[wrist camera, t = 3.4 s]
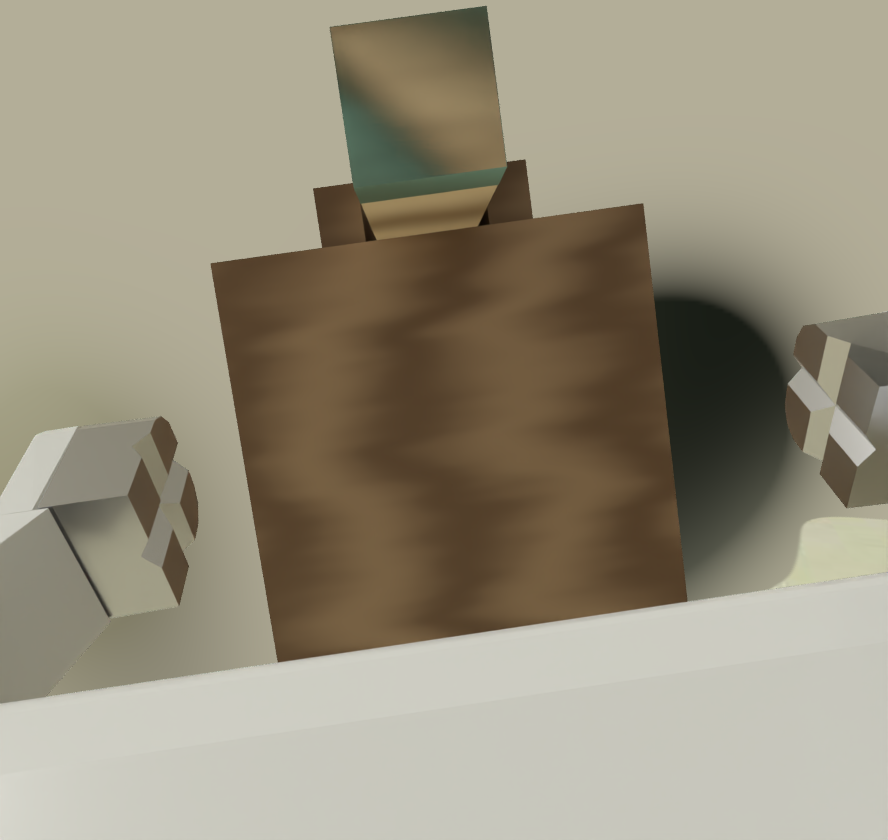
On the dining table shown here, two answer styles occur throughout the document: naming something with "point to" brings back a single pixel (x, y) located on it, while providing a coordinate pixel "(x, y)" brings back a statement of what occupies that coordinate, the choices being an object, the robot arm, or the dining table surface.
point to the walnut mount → (453, 424)
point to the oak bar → (421, 119)
